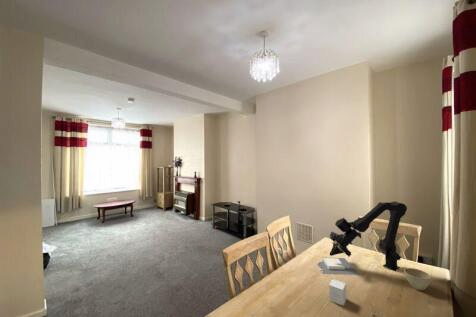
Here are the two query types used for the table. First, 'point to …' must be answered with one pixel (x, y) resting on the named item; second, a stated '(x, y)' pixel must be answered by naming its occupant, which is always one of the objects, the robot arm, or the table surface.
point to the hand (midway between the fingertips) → (330, 255)
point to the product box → (337, 292)
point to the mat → (348, 269)
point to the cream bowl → (417, 278)
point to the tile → (333, 263)
